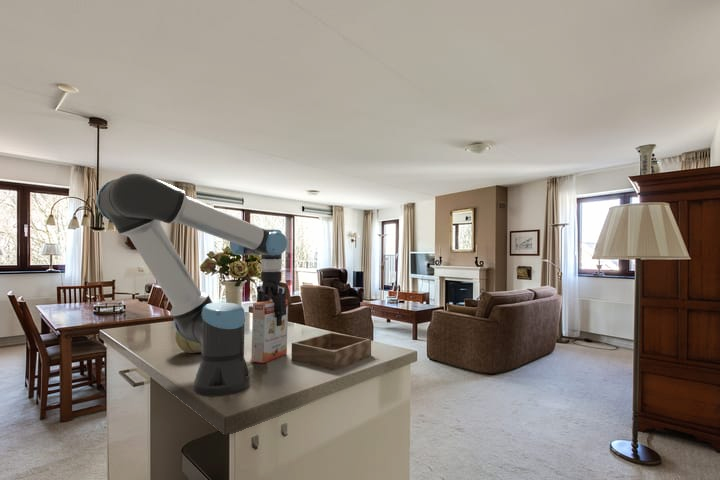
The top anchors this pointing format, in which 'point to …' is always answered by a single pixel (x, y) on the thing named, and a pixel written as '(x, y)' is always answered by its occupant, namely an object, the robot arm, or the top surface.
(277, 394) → the top surface
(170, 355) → the top surface
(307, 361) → the box
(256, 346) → the cracker box
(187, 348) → the cantaloupe
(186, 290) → the robot arm
